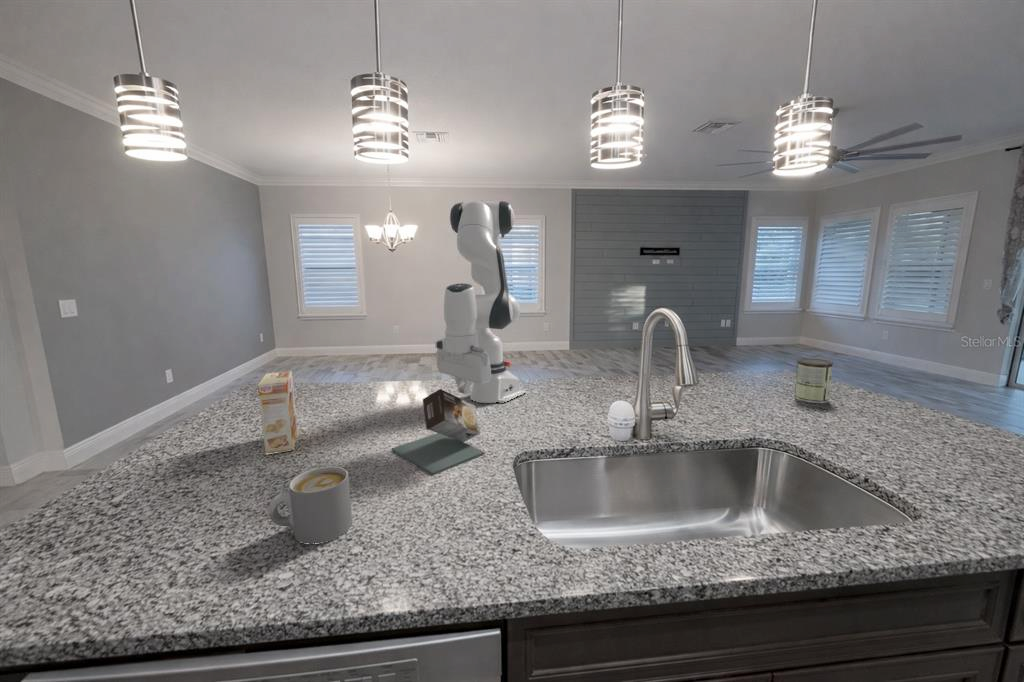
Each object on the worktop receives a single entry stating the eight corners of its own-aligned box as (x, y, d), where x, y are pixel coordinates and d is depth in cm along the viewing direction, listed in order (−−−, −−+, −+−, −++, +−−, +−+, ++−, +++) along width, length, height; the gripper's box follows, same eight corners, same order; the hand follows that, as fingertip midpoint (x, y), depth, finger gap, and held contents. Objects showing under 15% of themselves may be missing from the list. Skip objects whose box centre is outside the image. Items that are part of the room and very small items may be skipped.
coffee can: (790, 394, 157) (794, 357, 155) (823, 396, 153) (827, 359, 151) (798, 401, 147) (802, 363, 145) (833, 404, 144) (837, 365, 141)
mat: (441, 434, 123) (441, 432, 123) (484, 454, 109) (484, 452, 109) (391, 450, 112) (391, 448, 112) (432, 475, 98) (432, 472, 98)
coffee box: (458, 414, 122) (421, 397, 110) (475, 405, 120) (440, 387, 108) (463, 443, 117) (425, 429, 105) (481, 434, 115) (445, 418, 103)
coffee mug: (356, 510, 84) (353, 464, 82) (346, 541, 74) (341, 489, 73) (285, 518, 82) (280, 470, 80) (265, 551, 72) (258, 497, 70)
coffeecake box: (294, 451, 113) (287, 382, 110) (264, 456, 110) (255, 385, 107) (299, 432, 126) (292, 370, 123) (272, 436, 124) (265, 372, 121)
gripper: (496, 347, 107) (497, 398, 110) (449, 338, 122) (452, 384, 124) (477, 350, 103) (479, 404, 106) (431, 341, 118) (434, 388, 120)
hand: (464, 393), depth 115 cm, fingers closed
